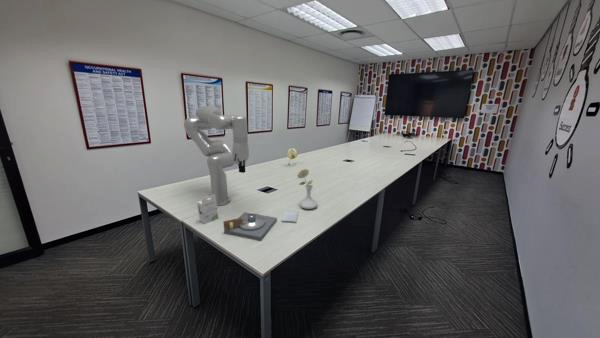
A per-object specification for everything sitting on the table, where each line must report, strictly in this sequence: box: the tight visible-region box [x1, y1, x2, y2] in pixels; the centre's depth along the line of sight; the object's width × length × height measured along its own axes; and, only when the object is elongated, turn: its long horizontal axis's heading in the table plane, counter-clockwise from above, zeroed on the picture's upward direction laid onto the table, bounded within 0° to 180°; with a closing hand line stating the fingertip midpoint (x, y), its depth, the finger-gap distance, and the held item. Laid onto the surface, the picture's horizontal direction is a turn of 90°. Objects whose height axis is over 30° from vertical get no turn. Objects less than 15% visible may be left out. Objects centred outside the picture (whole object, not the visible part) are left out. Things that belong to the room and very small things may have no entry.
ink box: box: [197, 194, 219, 224], centre depth 126 cm, size 9×5×15 cm, turn 141°
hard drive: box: [281, 210, 299, 224], centre depth 133 cm, size 2×8×12 cm
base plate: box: [223, 212, 278, 242], centre depth 121 cm, size 20×20×6 cm
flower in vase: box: [297, 168, 318, 210], centre depth 143 cm, size 13×11×25 cm
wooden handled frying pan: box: [222, 213, 265, 231], centre depth 119 cm, size 21×14×4 cm, turn 118°
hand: (242, 172), depth 130 cm, fingers closed
